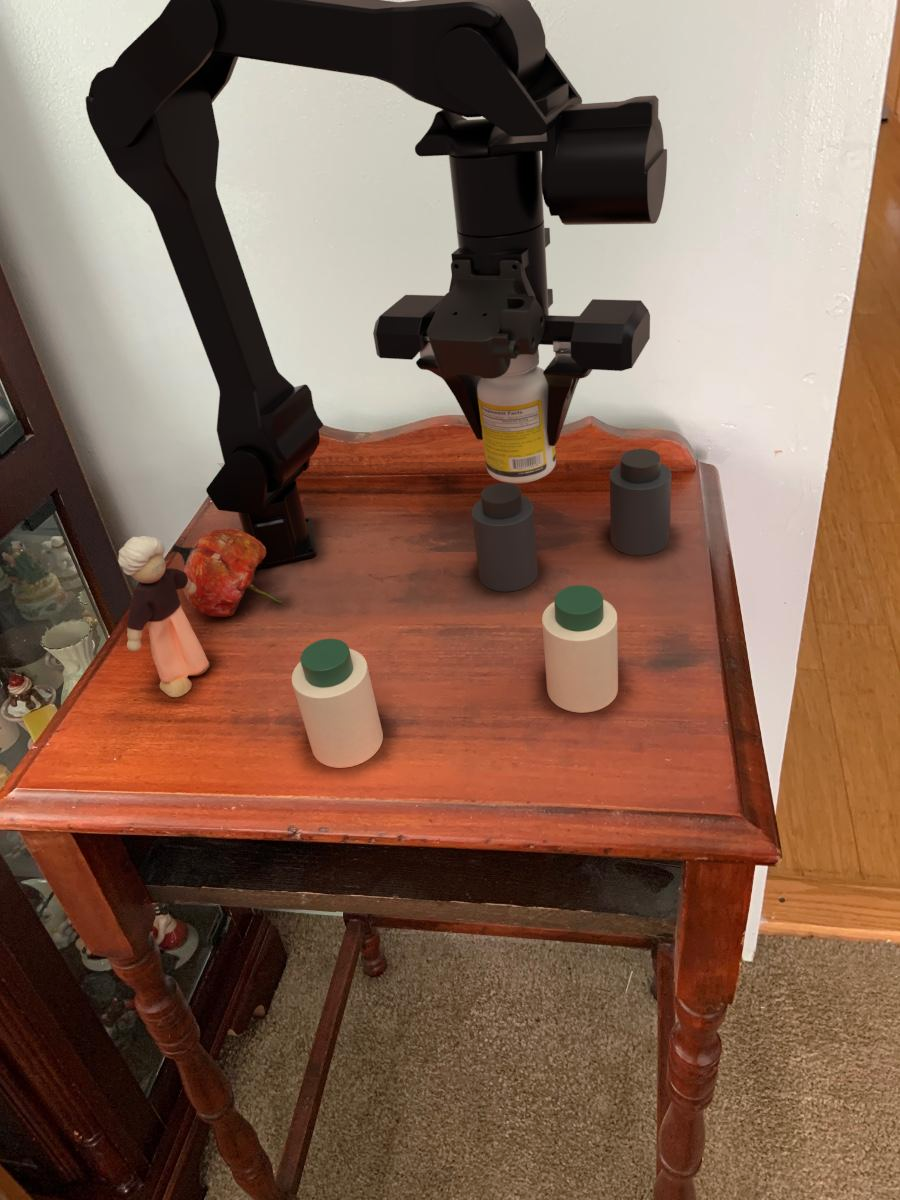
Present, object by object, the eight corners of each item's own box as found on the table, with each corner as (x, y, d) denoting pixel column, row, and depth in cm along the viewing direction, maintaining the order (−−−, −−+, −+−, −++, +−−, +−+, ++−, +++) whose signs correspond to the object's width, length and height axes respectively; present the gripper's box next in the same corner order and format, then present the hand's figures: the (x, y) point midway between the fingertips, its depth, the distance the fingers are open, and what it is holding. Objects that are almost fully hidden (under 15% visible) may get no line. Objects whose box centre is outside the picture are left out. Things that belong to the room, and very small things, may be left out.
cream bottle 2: (538, 673, 66) (531, 585, 62) (604, 659, 67) (602, 570, 62) (558, 719, 62) (552, 629, 58) (628, 703, 63) (628, 612, 58)
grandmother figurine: (190, 708, 68) (135, 569, 60) (144, 705, 69) (84, 568, 61) (230, 642, 74) (184, 509, 66) (187, 640, 75) (138, 508, 67)
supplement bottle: (513, 445, 73) (503, 327, 67) (569, 460, 70) (564, 338, 64) (471, 475, 70) (457, 353, 64) (528, 492, 67) (518, 366, 61)
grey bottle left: (473, 564, 79) (463, 484, 74) (529, 553, 79) (523, 472, 74) (486, 597, 75) (477, 514, 70) (545, 584, 75) (539, 501, 70)
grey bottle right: (602, 531, 81) (601, 450, 76) (656, 519, 81) (658, 438, 76) (622, 560, 77) (621, 477, 72) (678, 548, 77) (681, 465, 72)
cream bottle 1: (309, 725, 65) (284, 638, 60) (378, 709, 65) (358, 622, 61) (314, 775, 61) (288, 687, 56) (387, 758, 61) (367, 670, 57)
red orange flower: (284, 596, 82) (186, 538, 80) (312, 551, 77) (208, 488, 75) (248, 655, 77) (143, 595, 75) (276, 611, 72) (164, 545, 70)
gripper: (316, 263, 57) (359, 481, 66) (608, 266, 50) (610, 509, 59) (392, 213, 65) (421, 413, 74) (653, 209, 58) (649, 431, 67)
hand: (516, 440), depth 68 cm, fingers closed on supplement bottle, 5 cm apart
